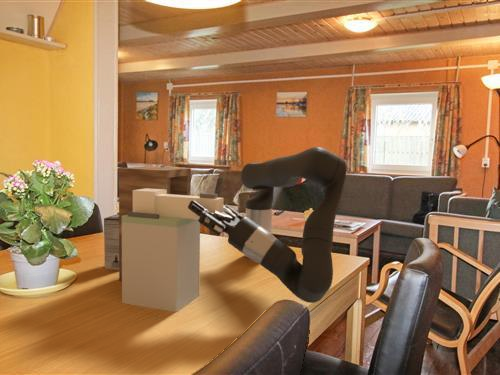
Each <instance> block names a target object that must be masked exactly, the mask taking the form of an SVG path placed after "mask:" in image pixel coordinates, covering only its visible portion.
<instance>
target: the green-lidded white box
mask: <svg viewBox="0 0 500 375" xmlns="http://www.w3.org/2000/svg"><path fill="white" fill-rule="evenodd" d="M200 245H201V223H200V222H198V219H186V218H175V217H163V216H159V214H152V213H140V212H128V215H124V216H122V281H121V304H126V305H132V306H133V305H134V306H138V307H142V308H143V307H144V308H150V309H157V310H163V311H168V312H174V313H178V311H180V310H182V309H183V308H184V307H185V306H187V305H188V304H190V303H192V301H194V300H196V299H197V298H198V297H199V296H200V269H201V268H200V266H201V265H200V262H201V261H200V259H201V258H200V257H201V256H200V254H201V246H200Z"/></svg>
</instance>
